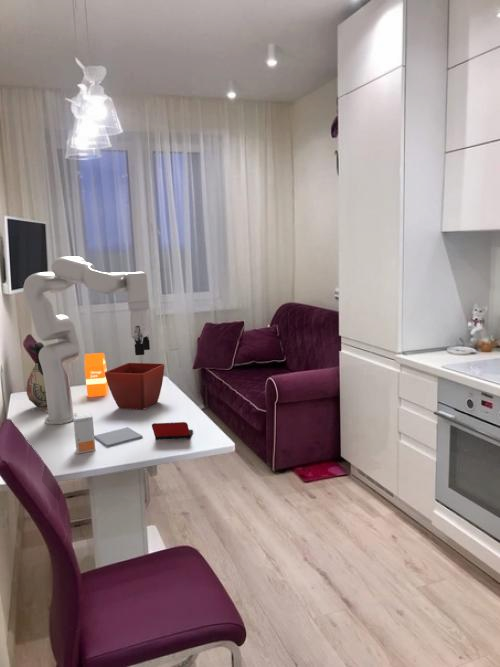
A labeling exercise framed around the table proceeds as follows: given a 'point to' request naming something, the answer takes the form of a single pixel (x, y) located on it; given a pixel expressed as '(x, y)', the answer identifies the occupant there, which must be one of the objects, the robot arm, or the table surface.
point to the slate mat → (117, 437)
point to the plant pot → (135, 384)
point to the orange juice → (96, 375)
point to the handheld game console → (171, 431)
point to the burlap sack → (37, 381)
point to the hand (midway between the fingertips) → (142, 352)
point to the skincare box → (84, 433)
